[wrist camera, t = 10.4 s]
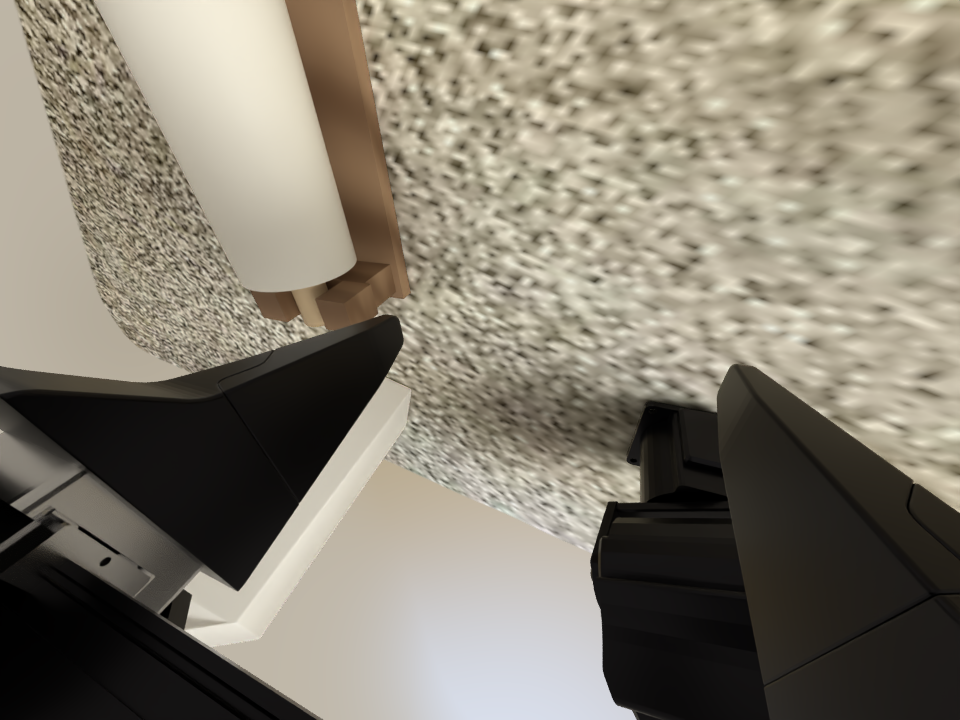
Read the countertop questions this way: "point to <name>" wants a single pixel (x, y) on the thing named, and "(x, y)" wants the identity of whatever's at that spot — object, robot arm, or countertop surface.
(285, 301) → the bracket
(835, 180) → the countertop surface
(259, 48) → the kitchen roll
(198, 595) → the milk
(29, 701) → the robot arm
